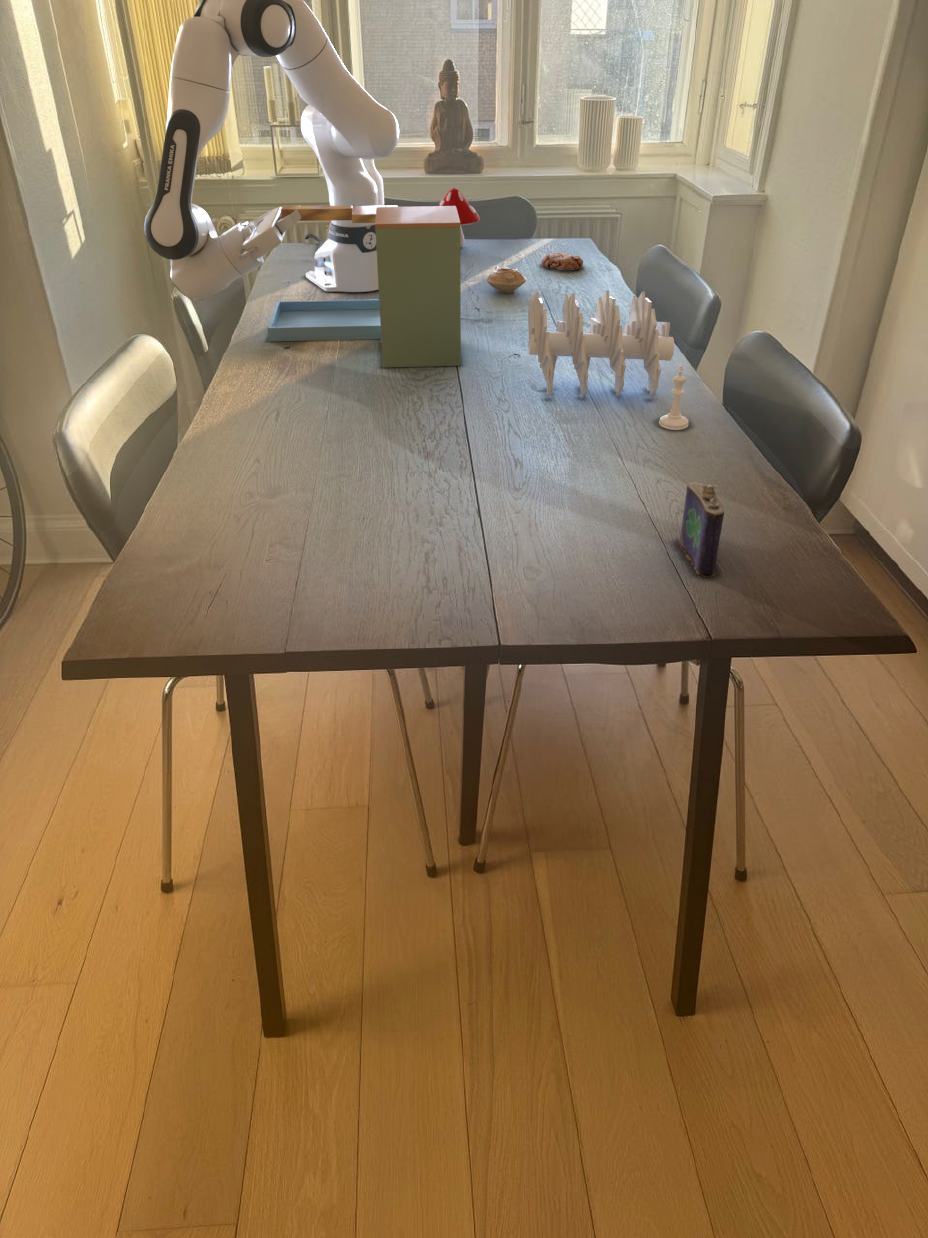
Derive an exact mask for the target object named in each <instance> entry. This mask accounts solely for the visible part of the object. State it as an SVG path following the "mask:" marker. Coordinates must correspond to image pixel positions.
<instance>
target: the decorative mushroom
mask: <svg viewBox="0 0 928 1238" xmlns="http://www.w3.org/2000/svg"><path fill="white" fill-rule="evenodd" d="M437 206H456V209H457V212H458V216H459V220H460V248H462V247H463V246H464V245H465V244H466V243H465V242H466V240H465V235H464V232H463V228H462V226H470V225H473V224H476V223H478V222H480V220H481V218H480V215H479V214H478V212H477V211H476V209H475V208H474V207H473V206H472V205H471V204H470V203H469V201H468V200H467V199H466V198H465V196H464V195H463V193H462V192H461V190H460V189H458V188H455V187H453V188H450V189H449V190H448V191H447V192H446V193H445V196H444V197H443V198H442V199H441V200H440V202H439V204H438V205H437Z"/></svg>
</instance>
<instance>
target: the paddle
mask: <svg viewBox="0 0 928 1238" xmlns="http://www.w3.org/2000/svg"><path fill="white" fill-rule="evenodd" d="M281 207H282V208H281V217H282V219H283V218H285V217H286V216H288V215H289V214H290V213H292V212H293V211H295V210H299V212H300V213H301V215H302V218H301V220H299V221H298V222H314V221H315V222H319V221H321V222H322V221H323V222H325V221H330V222H331V221H332V220H352V223H375V221H376V207H398V205H384V206H330V205H300V206H297V205H282V206H281Z"/></svg>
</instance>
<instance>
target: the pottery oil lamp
mask: <svg viewBox="0 0 928 1238" xmlns="http://www.w3.org/2000/svg"><path fill="white" fill-rule="evenodd" d="M485 282H486V283H487V284H489V285H490V286H491V287H492V288H493V289H495V290H496V291H497V292H499V293H502V294H511V293H513V292H515V291H516V290H517V289H519V288H520V287H521V286H523V285H524V284H525V283H526V282H527V278H526V276H524V274H523V273H522V272H521V271H519V270H518V268H510V267H508V266H504V265H499V266H498V265H497V266H495V268H494V270H493V271H492V272H491V273H490V274H489V275H487V277H486V279H485Z"/></svg>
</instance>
